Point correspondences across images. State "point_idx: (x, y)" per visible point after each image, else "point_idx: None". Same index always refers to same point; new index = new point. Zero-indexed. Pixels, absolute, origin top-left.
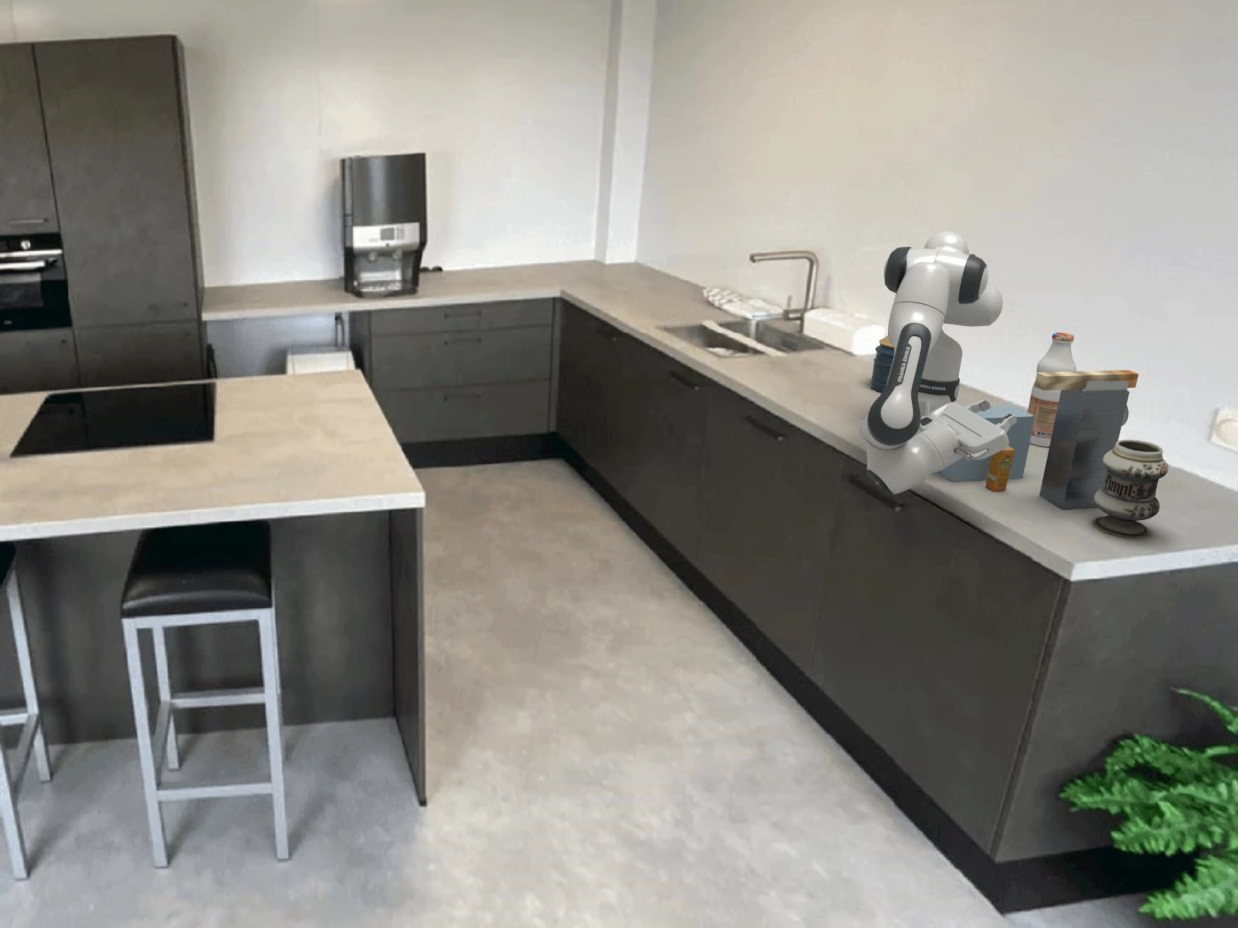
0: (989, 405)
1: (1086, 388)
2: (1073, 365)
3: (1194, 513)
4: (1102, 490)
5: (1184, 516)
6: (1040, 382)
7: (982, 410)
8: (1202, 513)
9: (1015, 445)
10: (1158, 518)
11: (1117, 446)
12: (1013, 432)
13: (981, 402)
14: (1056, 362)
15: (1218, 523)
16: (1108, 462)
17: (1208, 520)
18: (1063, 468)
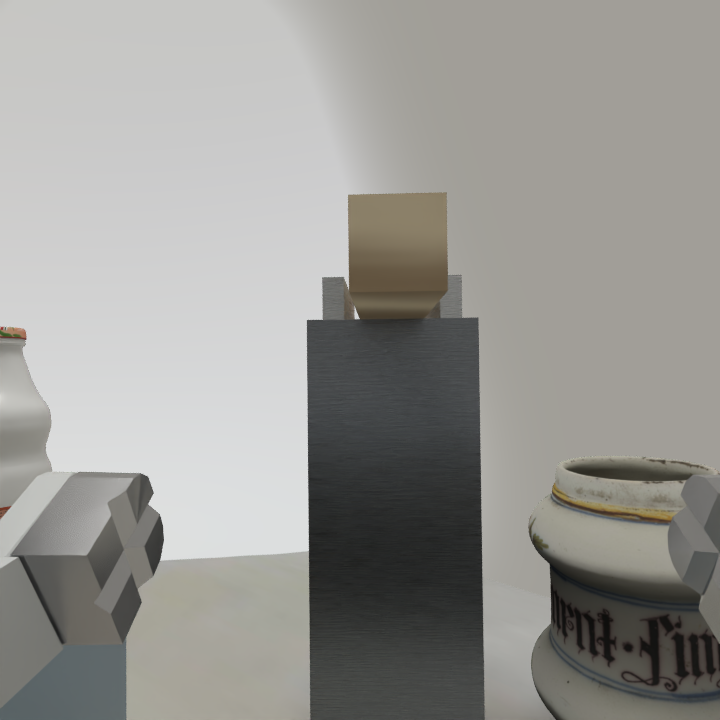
0: (153, 521)
1: (461, 302)
2: (43, 400)
3: (487, 607)
4: (631, 693)
5: (507, 625)
6: (402, 248)
7: (84, 636)
8: (486, 599)
9: (87, 715)
10: (529, 665)
11: (650, 490)
12: (72, 658)
13: (41, 520)
14: (3, 396)
15: (538, 602)
16: None
17: (524, 607)
18: (434, 696)
